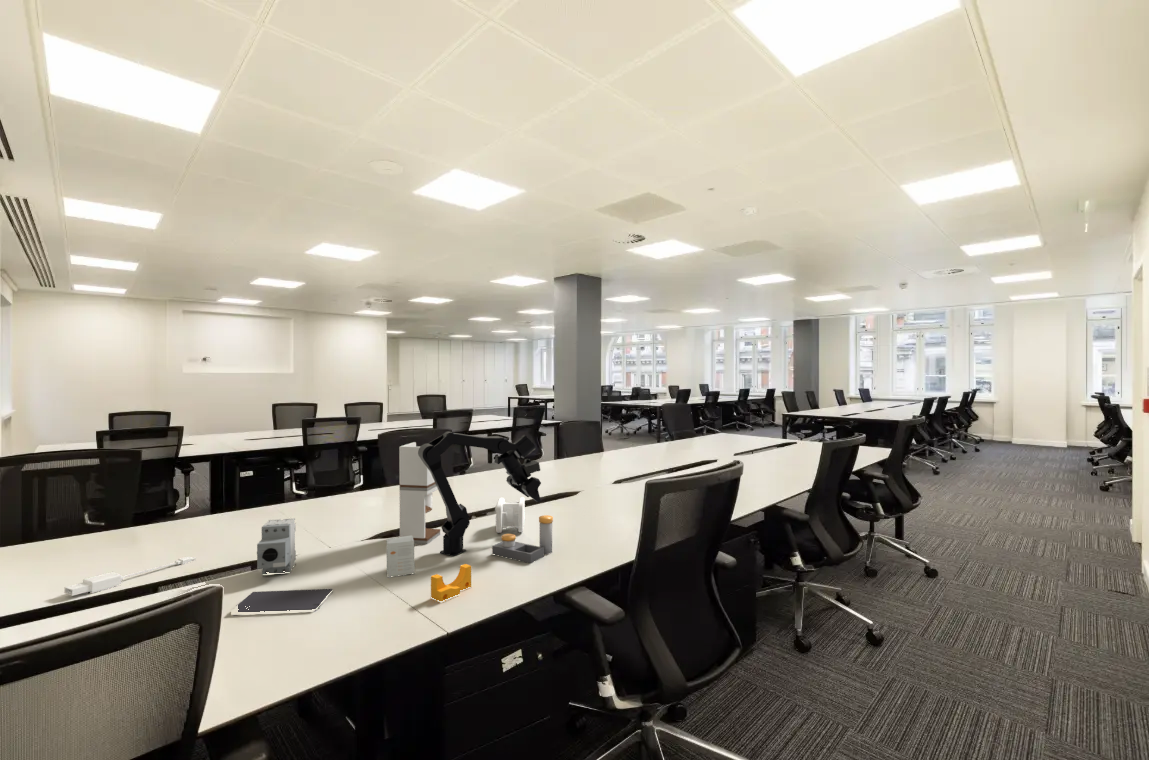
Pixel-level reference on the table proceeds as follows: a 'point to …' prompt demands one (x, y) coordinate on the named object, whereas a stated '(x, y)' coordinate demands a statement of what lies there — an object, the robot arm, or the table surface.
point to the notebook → (283, 600)
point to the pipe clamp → (452, 589)
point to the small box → (400, 556)
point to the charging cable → (110, 579)
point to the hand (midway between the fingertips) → (534, 499)
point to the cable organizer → (510, 515)
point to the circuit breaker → (277, 546)
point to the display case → (415, 495)
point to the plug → (546, 533)
